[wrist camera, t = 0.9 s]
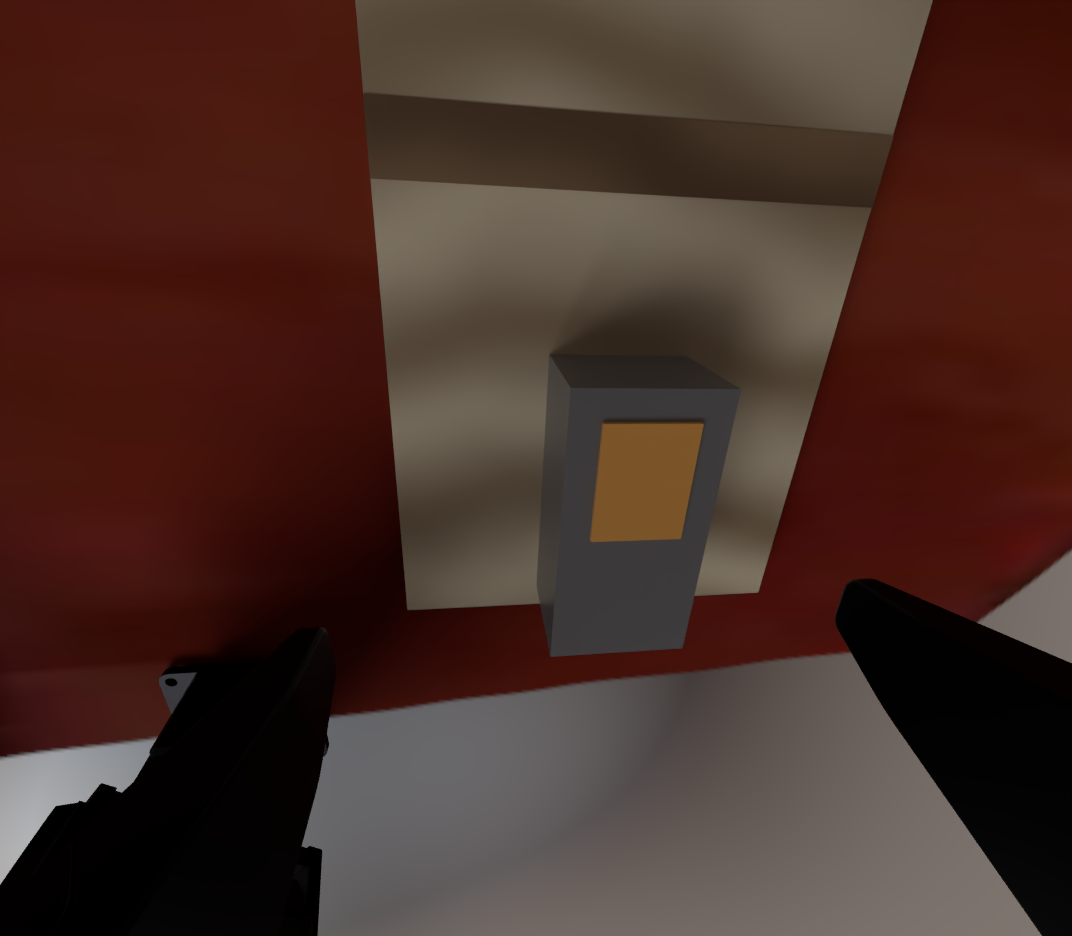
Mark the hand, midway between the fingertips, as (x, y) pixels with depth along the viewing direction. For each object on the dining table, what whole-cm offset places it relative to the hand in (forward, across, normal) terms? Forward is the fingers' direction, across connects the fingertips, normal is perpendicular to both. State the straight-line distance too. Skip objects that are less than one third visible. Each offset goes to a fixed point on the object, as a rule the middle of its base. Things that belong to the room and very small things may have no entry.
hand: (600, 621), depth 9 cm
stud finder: (+11, -3, +3) cm, 12 cm away
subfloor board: (+12, -3, -2) cm, 13 cm away
